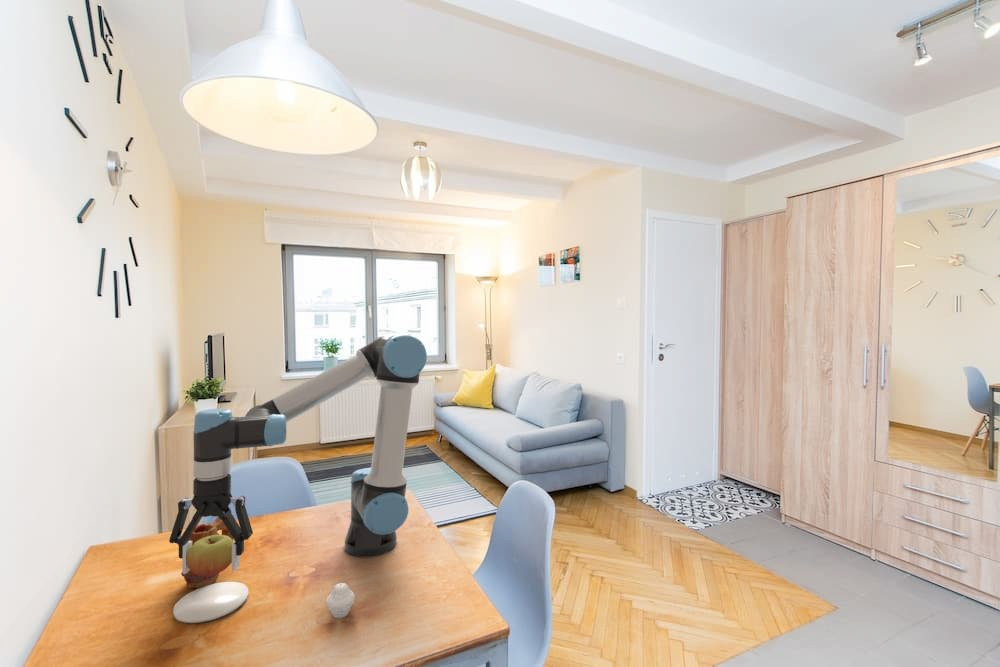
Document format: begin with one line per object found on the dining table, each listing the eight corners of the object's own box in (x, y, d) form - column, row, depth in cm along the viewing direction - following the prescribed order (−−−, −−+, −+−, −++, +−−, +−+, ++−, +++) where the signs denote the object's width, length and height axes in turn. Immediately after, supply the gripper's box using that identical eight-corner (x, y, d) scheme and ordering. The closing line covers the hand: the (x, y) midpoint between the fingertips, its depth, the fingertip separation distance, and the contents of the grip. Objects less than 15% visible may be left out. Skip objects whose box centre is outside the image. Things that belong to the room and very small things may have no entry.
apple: (181, 585, 102) (182, 550, 102) (191, 564, 111) (191, 531, 111) (232, 577, 106) (233, 542, 106) (237, 557, 115) (238, 525, 114)
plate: (258, 585, 117) (258, 579, 117) (232, 622, 102) (232, 616, 102) (194, 589, 115) (194, 583, 115) (158, 628, 100) (158, 622, 100)
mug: (200, 595, 112) (200, 534, 112) (172, 591, 114) (172, 531, 113) (245, 565, 126) (245, 511, 126) (219, 561, 128) (220, 508, 128)
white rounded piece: (332, 605, 109) (332, 576, 109) (358, 606, 109) (358, 576, 108) (321, 622, 103) (322, 591, 102) (348, 623, 102) (349, 591, 102)
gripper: (268, 469, 113) (267, 559, 113) (169, 472, 110) (168, 564, 110) (257, 479, 106) (256, 575, 106) (150, 482, 103) (149, 581, 103)
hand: (211, 569), depth 108 cm, fingers closed on apple, 10 cm apart
